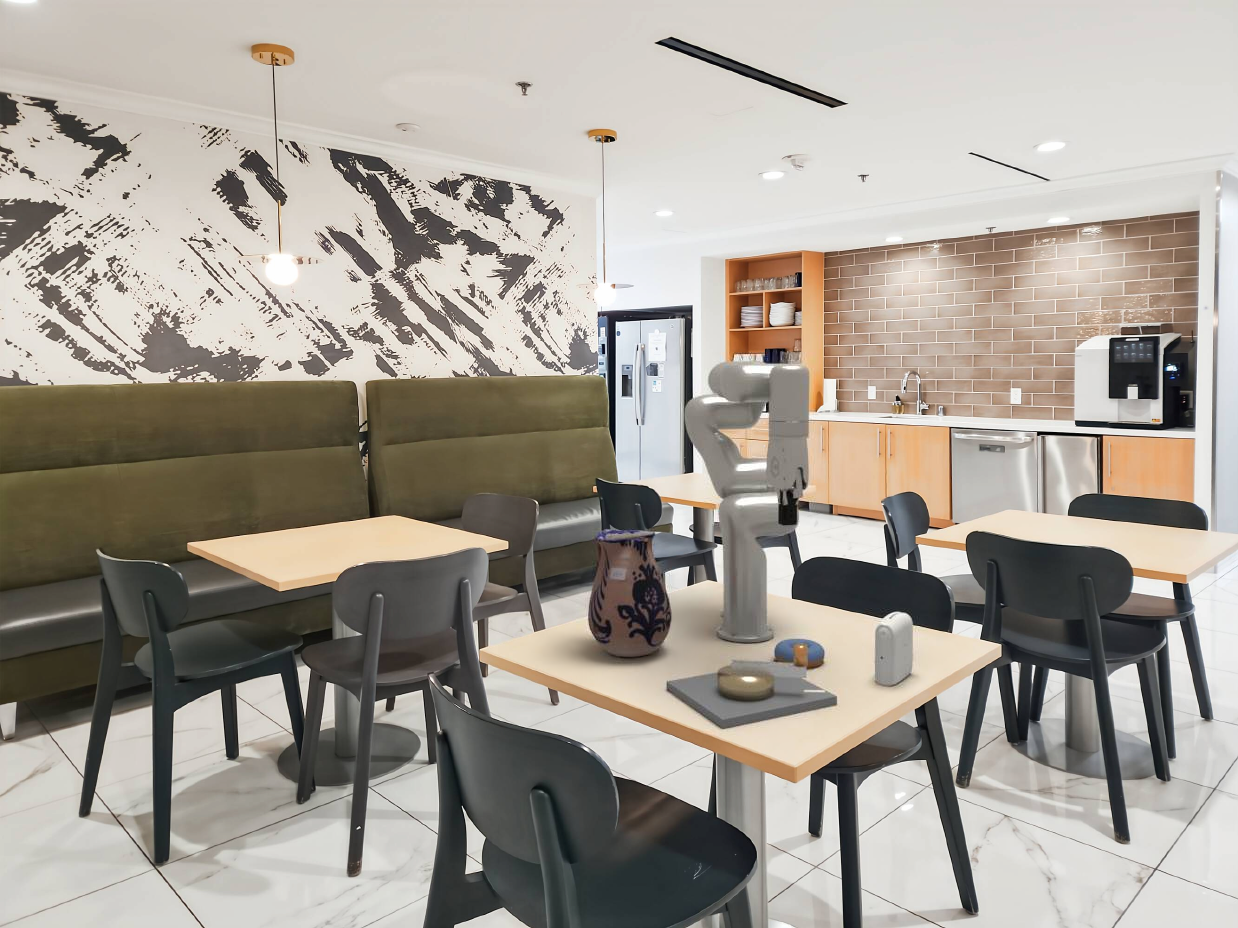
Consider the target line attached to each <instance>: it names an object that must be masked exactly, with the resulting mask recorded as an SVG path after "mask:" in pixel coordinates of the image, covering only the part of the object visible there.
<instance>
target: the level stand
mask: <svg viewBox="0 0 1238 928" xmlns="http://www.w3.org/2000/svg"><path fill="white" fill-rule="evenodd" d="M667 689H668V690H669V691H668V690H667ZM666 690H667V691H668V692H670V693H671V692H672V693H671V694H672V695H674V694H675V695H676V696H675V695H674V696H675V697H677V696H678V697H679V698H678V697H677V698H678V699H679V700H681V699H682V700H681V701H683V702H684V701H685V702H686V703H685V702H684V703H685V704H687V705H688V704H689V705H688V706H689V707H691V708H693V709H694V710H695V709H696V710H695V711H697V712H699V713H700V714H701V713H702V714H701V715H703V716H704V717H705V716H706V717H705V718H707V719H708V720H710V721H712V722H713V723H714V724H715V725H717V726H719V727H720V728H721V729H727V728H728V729H729V728H733V727H736V726H737V727H738V726H741V725H747V724H750V723H755V722H760V721H766V720H769V719H775V718H780V717H784V716H789V715H790V716H791V715H793V714H798V713H802V712H803V713H804V712H807V711H813V710H817V709H821V708H822V709H823V708H827V707H831V706H837V705H838V695H836V694H833V693H832V692H830V691H828V690H825V689H824V688H822V687H820V686H818V685H816V684H814V683H812V682H810V681H808V680H807V679H805V678H792V677H774V694H773V695H771V696H770V697H767V698H764V699H759V700H738V699H732V698H729V697H726V696H723V695H722V694H720V693H719V692H718V690H717V672H712V673H706V674H700V675H695V676H689V677H684V678H678V679H673V680H666Z"/></svg>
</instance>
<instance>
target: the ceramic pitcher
mask: <svg viewBox="0 0 1238 928" xmlns="http://www.w3.org/2000/svg"><path fill="white" fill-rule="evenodd" d="M655 535H656V532H654V531H646V530H641V529H639V530H638V529H637V530H632V529H629V530H626V529H625V530H617V529H615V530H614V529H610V528H609V529H608V528H606V529H604V530H601V531H600V532H598V533H597V534H596V535H595V537H594V540H596V543H595V544H596V547H595V548H596V556H597V562H598V566H597V569H596V575H595V577H594V581H593V584H592V589H591V593H590V596H589V601H588V612H587V614H588V615H587V620H588V621H587V622H588V627H589V630H590V632H591V634H592V636H593V637H594V639H595V641H596V642H597V644H599V646H600V647H601V648H602V649H603V650H605V651H606V652H608V653H609V654H611V655H612V654H613V656H615V655H616V656H615V657H621V656H622V657H626V658H634V657H635V658H637V657H642V656H648V655H650V654H652V653H654V652H655V651H657V649H659V647H661V646H662V645H663V644H664V642H665V640H666V638H667V637H668V634H669V632H670V629H671V624H672V616H673V615H672V607H671V603H670V598H669V596H668V592H667V589H666V585H665V583H664V580H663V577H662V575H661V572H660V569H659V566H658V564H657V560H656V558H655V555H654V551H653V539H654V537H655Z"/></svg>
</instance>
